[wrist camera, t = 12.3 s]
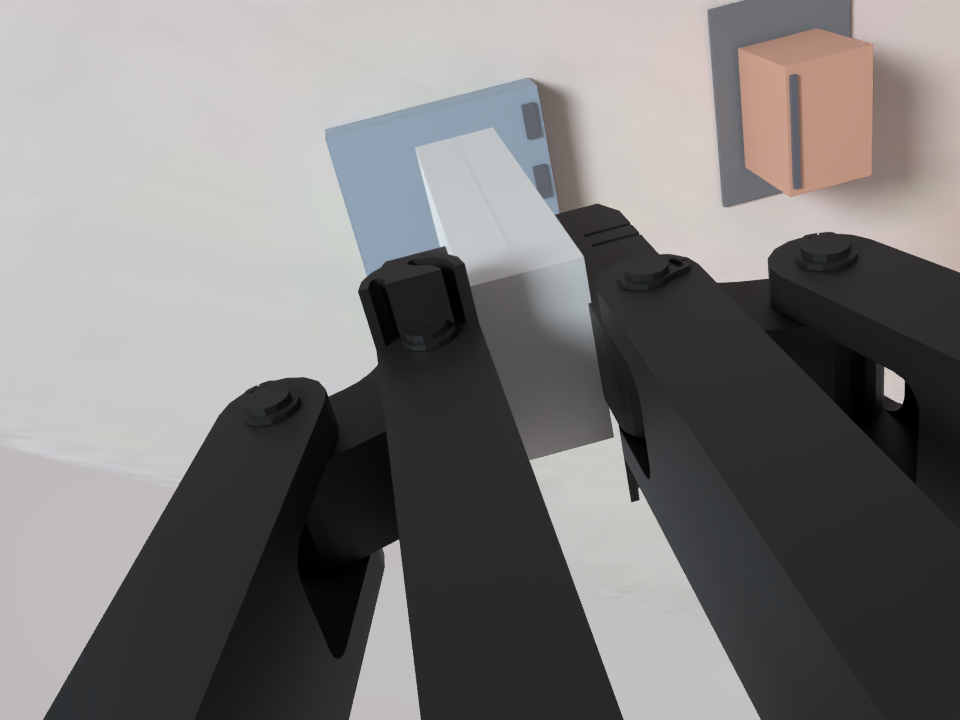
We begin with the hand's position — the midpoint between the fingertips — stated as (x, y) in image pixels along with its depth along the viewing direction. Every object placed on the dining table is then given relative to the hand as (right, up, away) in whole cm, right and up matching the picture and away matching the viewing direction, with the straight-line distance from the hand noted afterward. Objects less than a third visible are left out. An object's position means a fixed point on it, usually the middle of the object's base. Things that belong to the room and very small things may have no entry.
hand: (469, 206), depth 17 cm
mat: (+15, +10, +28) cm, 33 cm away
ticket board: (-1, +4, +28) cm, 28 cm away
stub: (+15, +10, +28) cm, 33 cm away
